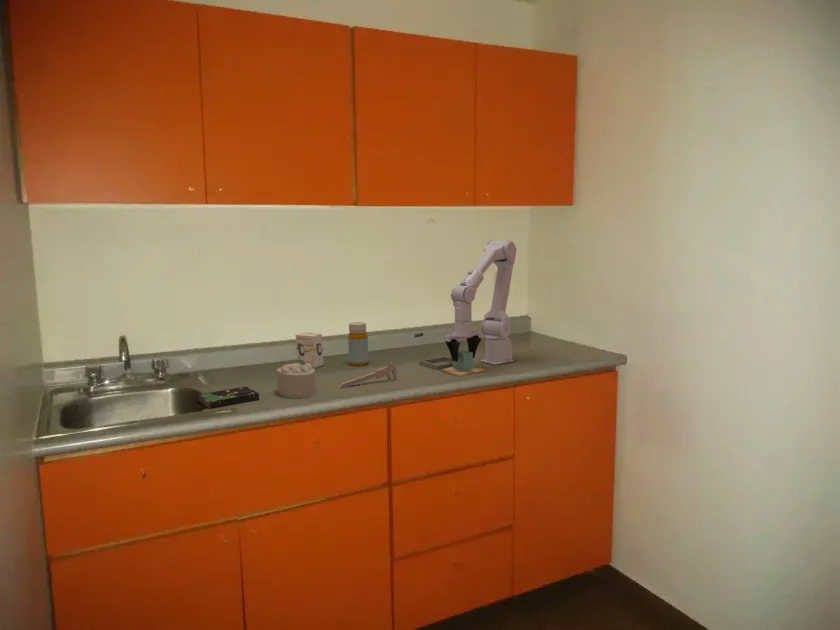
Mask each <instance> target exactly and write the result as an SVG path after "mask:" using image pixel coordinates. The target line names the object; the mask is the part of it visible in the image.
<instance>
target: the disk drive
mask: <svg viewBox="0 0 840 630" xmlns="http://www.w3.org/2000/svg"><path fill="white" fill-rule="evenodd" d="M256 401H257V402H258V401H260V393H259V392H258V391H256V390H254V389H251V388H250V387H249V386H239V387H234V388H229V389H224V390H223V389H222V390H216V391H210V392H206V393H199V394H198V402H199V403H200V404H201V405H204V407H206V408H208V409H209V410H212V409H218V408H223V407H230V406H235V405H239V404H241V405H242V404H245V403H252V402H256Z"/></svg>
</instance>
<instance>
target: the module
mask: <svg viewBox="0 0 840 630" xmlns="http://www.w3.org/2000/svg"><path fill="white" fill-rule="evenodd" d="M473 366H474V358H473V352H469V351H468V350H464V349H459V350H458V361H457V362H455V361H453V368H454V369H457V370H461V371H468V370H473Z"/></svg>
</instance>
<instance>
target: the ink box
mask: <svg viewBox="0 0 840 630" xmlns="http://www.w3.org/2000/svg"><path fill="white" fill-rule="evenodd" d="M295 347H296V359H297V360H296V363H299V364H301V365H305V364H306V363H309V364H311V366H312V368H314V369H315V368H319V367H323V366H324V351H323V350H324V349H323V334H322V333H318V332H306V331H305V332H300V333H299V334H295Z"/></svg>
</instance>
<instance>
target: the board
mask: <svg viewBox="0 0 840 630" xmlns="http://www.w3.org/2000/svg"><path fill="white" fill-rule="evenodd" d="M440 371H441V372H444V373H447V374H450V375H452V376H453V375H454V376H458V377H463V376H467V375H471V374H472V375H473V374H477V373H481V372H487V368H483V367H479V366H476V365H473V370H468V371H461V370H457V369H454V368H453V367H450V368H445V369H441V370H440Z"/></svg>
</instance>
